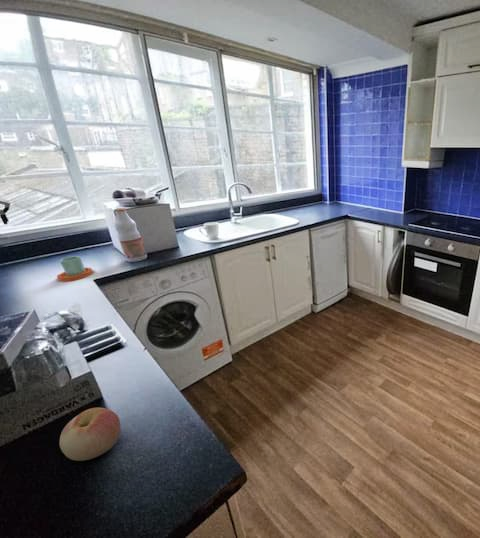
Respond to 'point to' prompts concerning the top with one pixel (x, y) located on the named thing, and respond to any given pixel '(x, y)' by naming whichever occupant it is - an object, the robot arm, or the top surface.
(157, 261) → the top surface
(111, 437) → the apple
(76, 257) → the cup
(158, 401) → the top surface
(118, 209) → the fruit juice
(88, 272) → the ring
